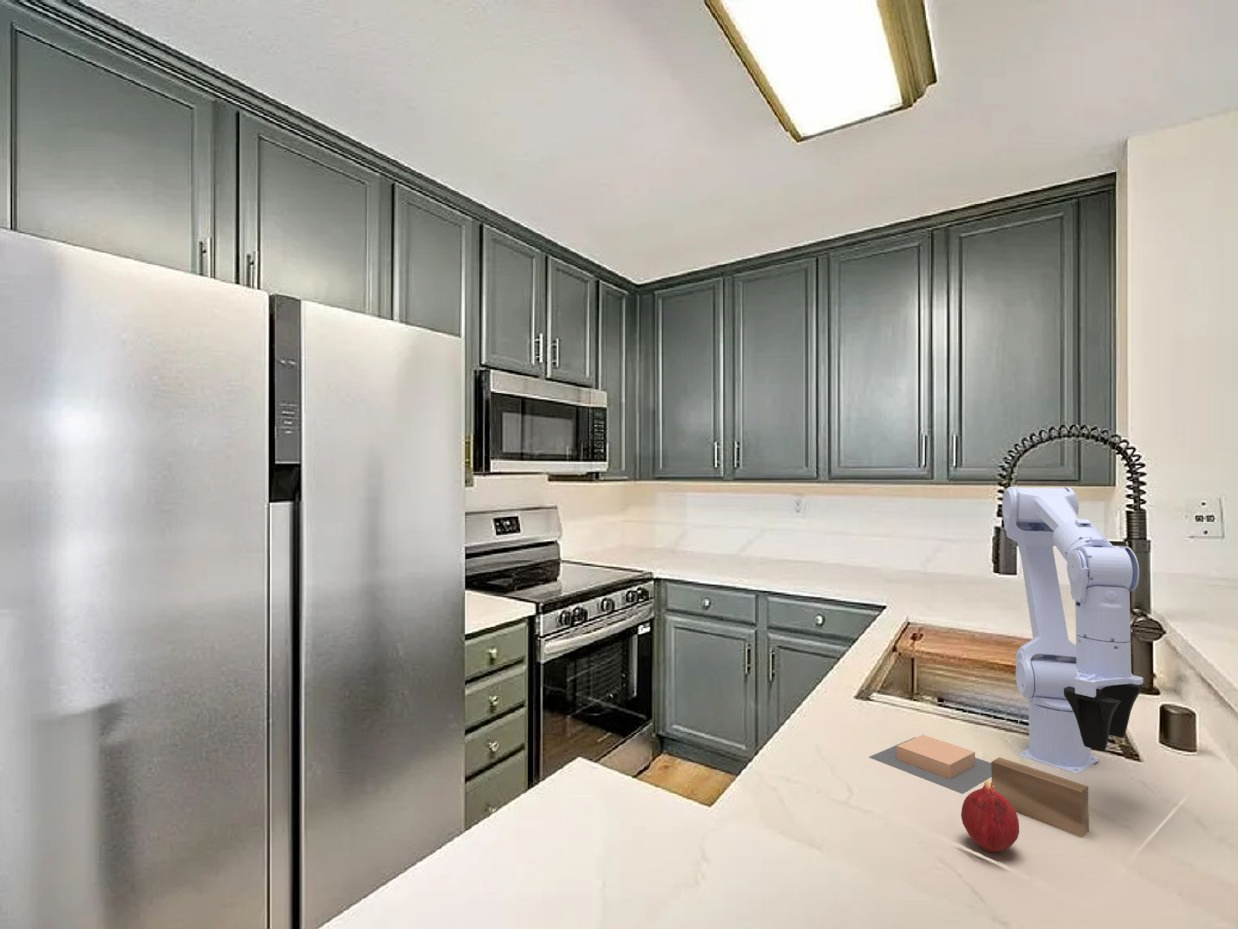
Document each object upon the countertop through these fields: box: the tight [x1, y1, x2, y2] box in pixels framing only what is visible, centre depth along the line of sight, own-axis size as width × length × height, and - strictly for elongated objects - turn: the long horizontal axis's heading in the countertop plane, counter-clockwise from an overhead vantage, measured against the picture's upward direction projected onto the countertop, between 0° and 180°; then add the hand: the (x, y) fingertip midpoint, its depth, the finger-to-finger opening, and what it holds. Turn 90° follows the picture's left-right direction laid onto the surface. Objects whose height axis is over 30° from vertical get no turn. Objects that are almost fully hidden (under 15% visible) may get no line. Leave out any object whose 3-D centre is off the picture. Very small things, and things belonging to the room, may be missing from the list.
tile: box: [897, 734, 976, 779], centre depth 94 cm, size 8×2×8 cm
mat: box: [868, 736, 992, 795], centre depth 94 cm, size 14×14×1 cm
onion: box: [960, 779, 1020, 853], centre depth 71 cm, size 6×6×8 cm
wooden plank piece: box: [990, 757, 1090, 838], centre depth 78 cm, size 2×10×6 cm, turn 36°
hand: (1104, 741), depth 80 cm, fingers open, 7 cm apart
